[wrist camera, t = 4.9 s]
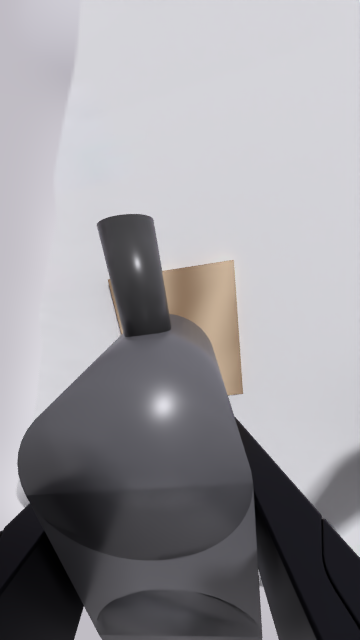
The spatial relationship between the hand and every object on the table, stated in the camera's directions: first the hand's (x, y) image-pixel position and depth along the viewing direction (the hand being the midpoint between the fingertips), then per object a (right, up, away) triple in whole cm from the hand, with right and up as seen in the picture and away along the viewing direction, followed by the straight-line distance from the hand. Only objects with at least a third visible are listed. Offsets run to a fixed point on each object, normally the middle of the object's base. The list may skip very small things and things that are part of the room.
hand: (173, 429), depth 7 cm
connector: (0, 0, +1) cm, 1 cm away
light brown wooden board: (0, +3, +9) cm, 10 cm away
